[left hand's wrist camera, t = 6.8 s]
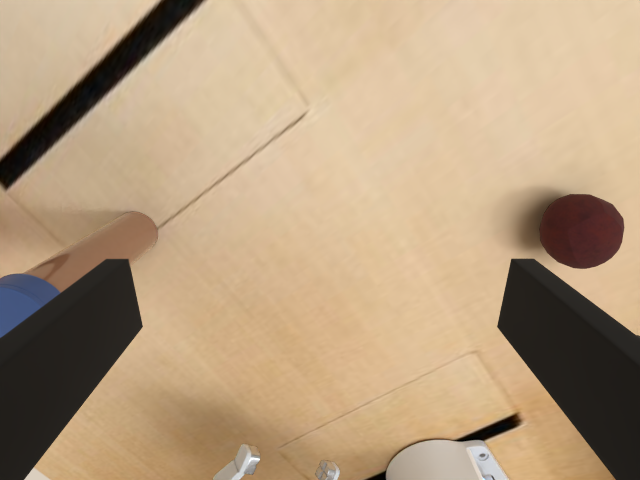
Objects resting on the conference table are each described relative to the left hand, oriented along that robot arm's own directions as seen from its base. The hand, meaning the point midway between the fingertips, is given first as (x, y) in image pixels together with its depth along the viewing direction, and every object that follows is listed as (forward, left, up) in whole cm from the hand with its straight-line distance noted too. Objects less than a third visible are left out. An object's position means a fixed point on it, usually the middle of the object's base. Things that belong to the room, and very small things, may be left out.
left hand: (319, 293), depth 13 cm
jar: (+8, -21, -28) cm, 36 cm away
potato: (+6, +27, -28) cm, 39 cm away
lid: (+8, -21, -10) cm, 24 cm away
